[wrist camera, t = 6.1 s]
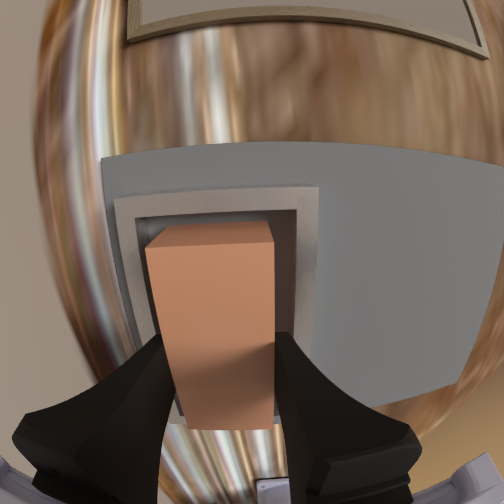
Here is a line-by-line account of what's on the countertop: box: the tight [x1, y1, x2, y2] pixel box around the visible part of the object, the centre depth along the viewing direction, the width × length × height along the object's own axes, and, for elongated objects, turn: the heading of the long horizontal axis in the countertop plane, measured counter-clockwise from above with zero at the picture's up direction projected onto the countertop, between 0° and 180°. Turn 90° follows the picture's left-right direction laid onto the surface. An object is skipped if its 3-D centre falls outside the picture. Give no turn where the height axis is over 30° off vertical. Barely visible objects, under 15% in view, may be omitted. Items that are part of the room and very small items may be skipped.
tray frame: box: [114, 183, 319, 424], centre depth 13 cm, size 13×8×2 cm, turn 2°
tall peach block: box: [145, 220, 275, 430], centre depth 11 cm, size 4×9×3 cm, turn 2°
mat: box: [101, 142, 504, 408], centre depth 14 cm, size 16×22×1 cm
